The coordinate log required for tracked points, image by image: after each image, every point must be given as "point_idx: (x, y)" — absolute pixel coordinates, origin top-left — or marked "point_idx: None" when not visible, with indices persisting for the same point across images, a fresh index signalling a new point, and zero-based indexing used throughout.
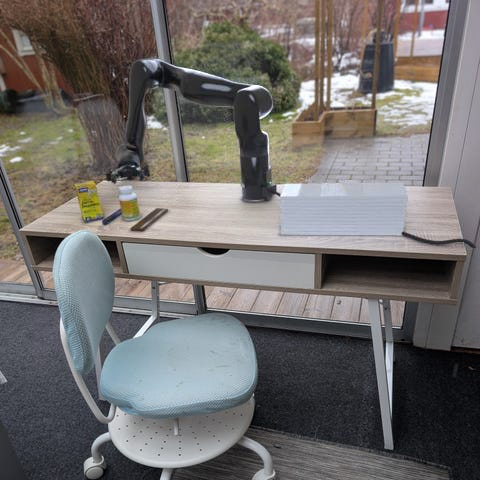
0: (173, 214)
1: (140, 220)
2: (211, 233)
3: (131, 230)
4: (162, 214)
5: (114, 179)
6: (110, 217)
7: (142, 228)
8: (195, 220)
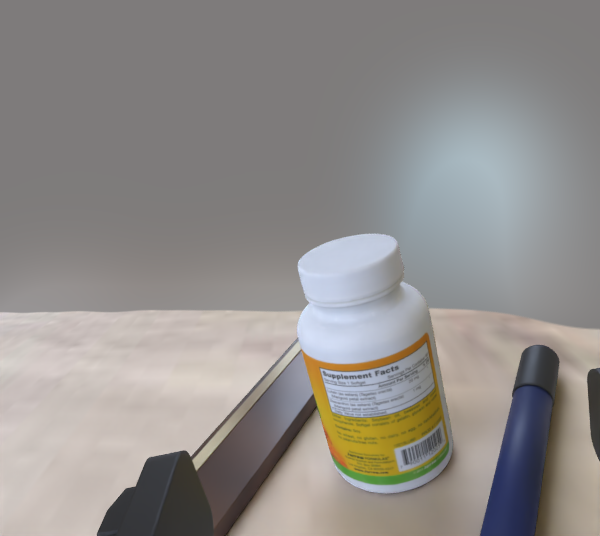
0: (128, 483)
1: None
2: (89, 340)
3: None
4: None
5: (595, 388)
6: (518, 379)
7: None
8: (72, 415)
